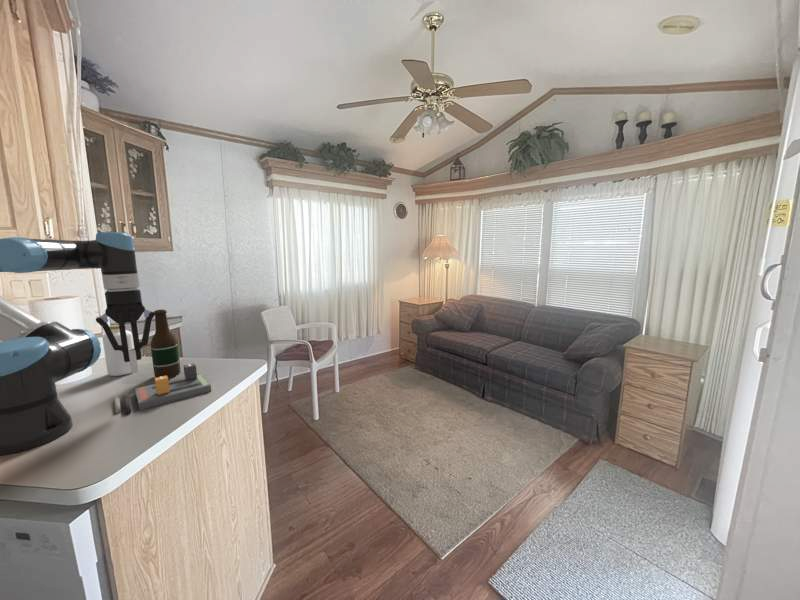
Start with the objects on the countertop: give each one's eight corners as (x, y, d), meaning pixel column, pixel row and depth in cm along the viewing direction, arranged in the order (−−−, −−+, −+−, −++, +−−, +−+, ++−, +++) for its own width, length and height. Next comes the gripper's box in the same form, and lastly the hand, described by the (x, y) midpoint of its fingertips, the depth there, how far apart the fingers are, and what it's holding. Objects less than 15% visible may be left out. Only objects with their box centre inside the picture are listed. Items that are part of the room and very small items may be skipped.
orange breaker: (157, 395, 96) (155, 380, 95) (156, 391, 98) (154, 377, 98) (169, 392, 98) (168, 377, 97) (168, 389, 100) (166, 374, 100)
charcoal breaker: (186, 380, 107) (185, 367, 106) (184, 378, 109) (183, 365, 108) (197, 378, 109) (195, 365, 108) (195, 375, 111) (193, 362, 110)
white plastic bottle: (112, 371, 123) (106, 324, 121) (140, 367, 127) (133, 322, 124) (104, 378, 116) (96, 329, 113) (133, 374, 119) (126, 326, 117)
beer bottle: (186, 371, 122) (178, 308, 118) (169, 379, 114) (161, 312, 111) (166, 371, 123) (158, 308, 119) (149, 379, 115) (140, 312, 111)
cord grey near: (121, 412, 91) (120, 408, 91) (115, 413, 90) (114, 409, 90) (119, 399, 99) (119, 396, 98) (114, 401, 98) (113, 397, 98)
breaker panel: (139, 409, 92) (138, 403, 92) (135, 394, 102) (134, 388, 102) (211, 391, 104) (210, 384, 104) (201, 379, 114) (200, 373, 114)
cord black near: (131, 413, 90) (130, 408, 90) (125, 415, 89) (124, 410, 89) (128, 398, 99) (128, 394, 99) (122, 400, 98) (122, 395, 98)
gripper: (89, 293, 83) (104, 381, 86) (153, 288, 91) (164, 369, 95) (90, 290, 88) (104, 374, 92) (150, 286, 97) (160, 363, 100)
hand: (134, 371), depth 93 cm, fingers closed
